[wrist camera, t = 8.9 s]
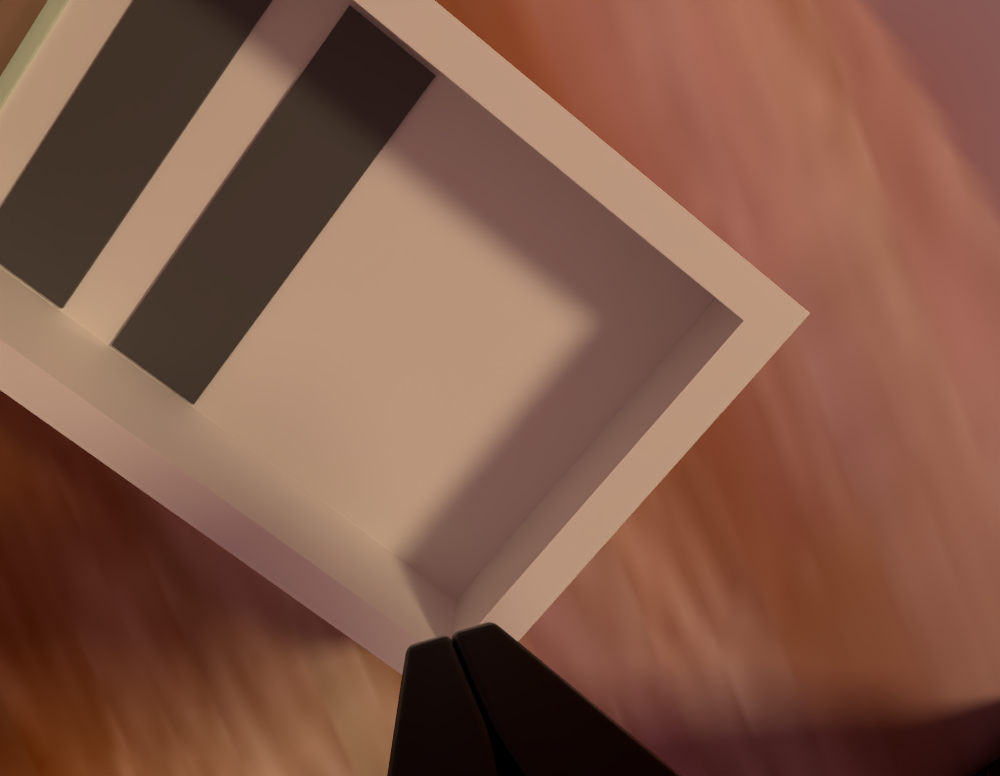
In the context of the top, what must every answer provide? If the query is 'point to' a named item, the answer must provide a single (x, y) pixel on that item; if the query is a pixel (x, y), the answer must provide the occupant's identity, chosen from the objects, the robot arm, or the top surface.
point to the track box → (356, 300)
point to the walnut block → (15, 25)
